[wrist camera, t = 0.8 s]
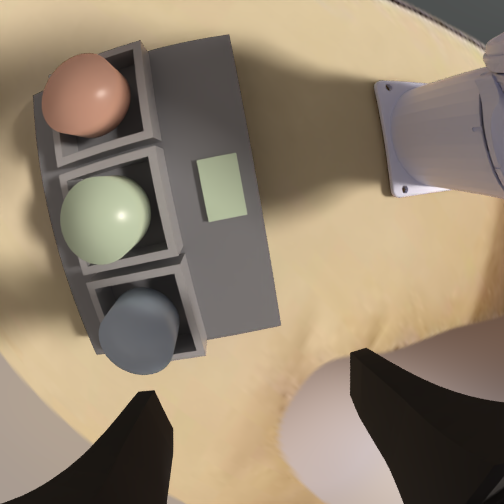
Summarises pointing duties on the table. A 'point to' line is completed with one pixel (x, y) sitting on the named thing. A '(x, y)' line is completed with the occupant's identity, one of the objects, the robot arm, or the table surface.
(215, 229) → the console
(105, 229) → the sage button
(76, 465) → the robot arm
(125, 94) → the terracotta button
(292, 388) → the table surface
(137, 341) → the slate button
